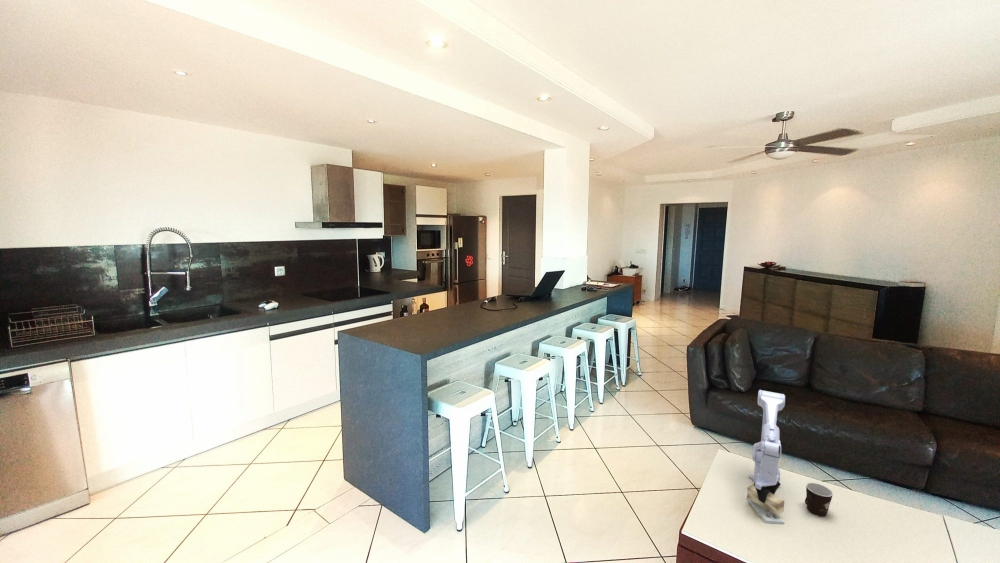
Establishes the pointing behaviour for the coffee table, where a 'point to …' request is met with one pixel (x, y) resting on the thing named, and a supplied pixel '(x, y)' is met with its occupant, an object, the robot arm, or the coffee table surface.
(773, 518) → the peg plate
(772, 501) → the wooden block
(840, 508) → the coffee table surface
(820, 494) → the coffee mug
